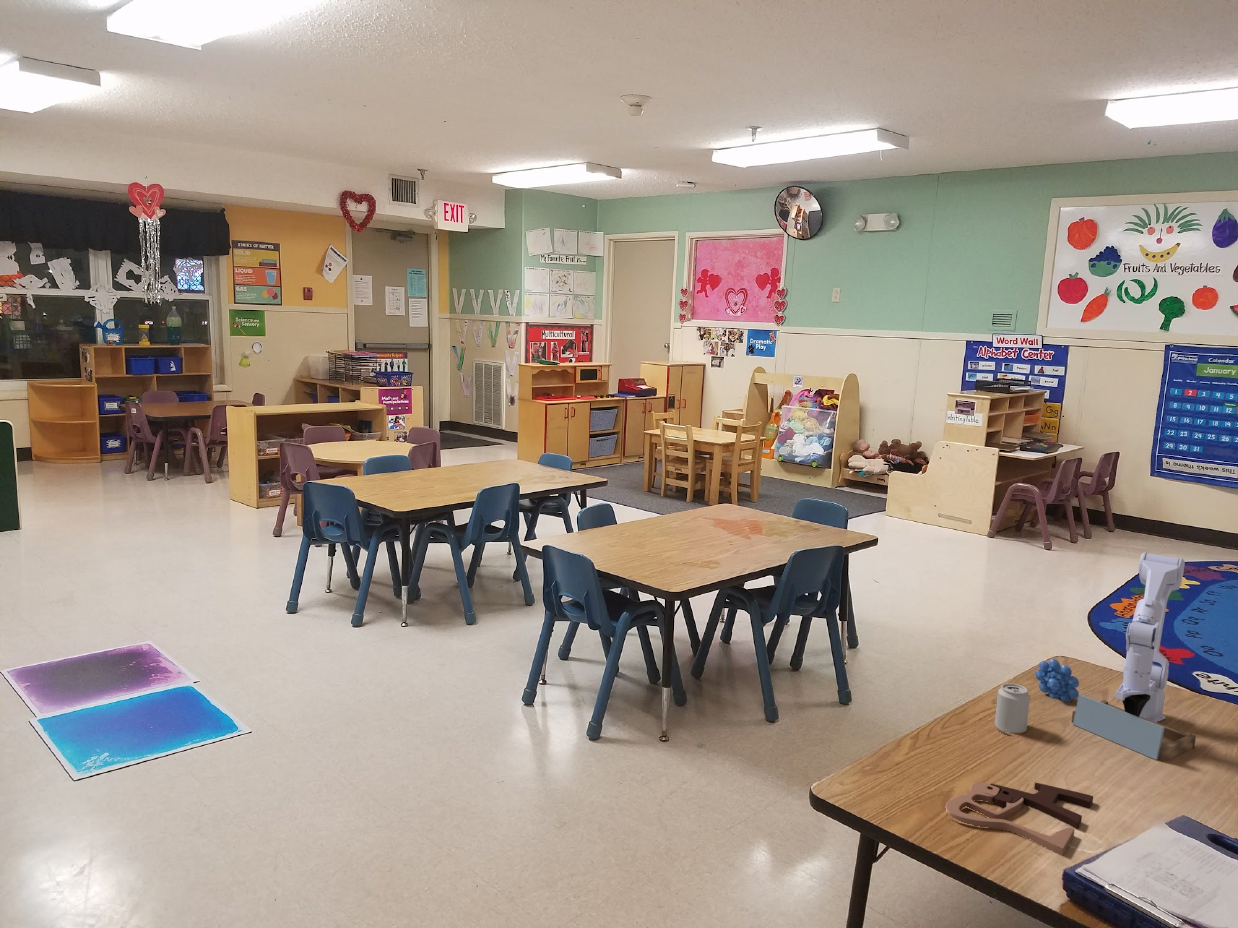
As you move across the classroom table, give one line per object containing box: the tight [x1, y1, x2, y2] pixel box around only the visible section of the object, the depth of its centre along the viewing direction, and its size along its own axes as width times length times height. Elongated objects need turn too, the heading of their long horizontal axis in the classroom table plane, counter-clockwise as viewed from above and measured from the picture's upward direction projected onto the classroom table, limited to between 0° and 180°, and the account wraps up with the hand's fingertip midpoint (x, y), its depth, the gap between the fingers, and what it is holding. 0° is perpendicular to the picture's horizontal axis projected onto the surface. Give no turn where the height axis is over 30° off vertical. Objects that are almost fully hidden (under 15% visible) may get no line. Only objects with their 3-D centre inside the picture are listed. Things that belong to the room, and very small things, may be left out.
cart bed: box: [1071, 700, 1197, 762], centre depth 227 cm, size 14×23×4 cm, turn 31°
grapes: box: [1034, 658, 1080, 703], centre depth 247 cm, size 12×7×12 cm, turn 47°
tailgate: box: [1072, 693, 1165, 761], centre depth 223 cm, size 1×21×8 cm, turn 31°
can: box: [994, 682, 1031, 738], centre depth 230 cm, size 8×8×12 cm
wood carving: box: [945, 781, 1094, 856], centre depth 194 cm, size 28×2×24 cm
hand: (1131, 720), depth 226 cm, fingers closed
